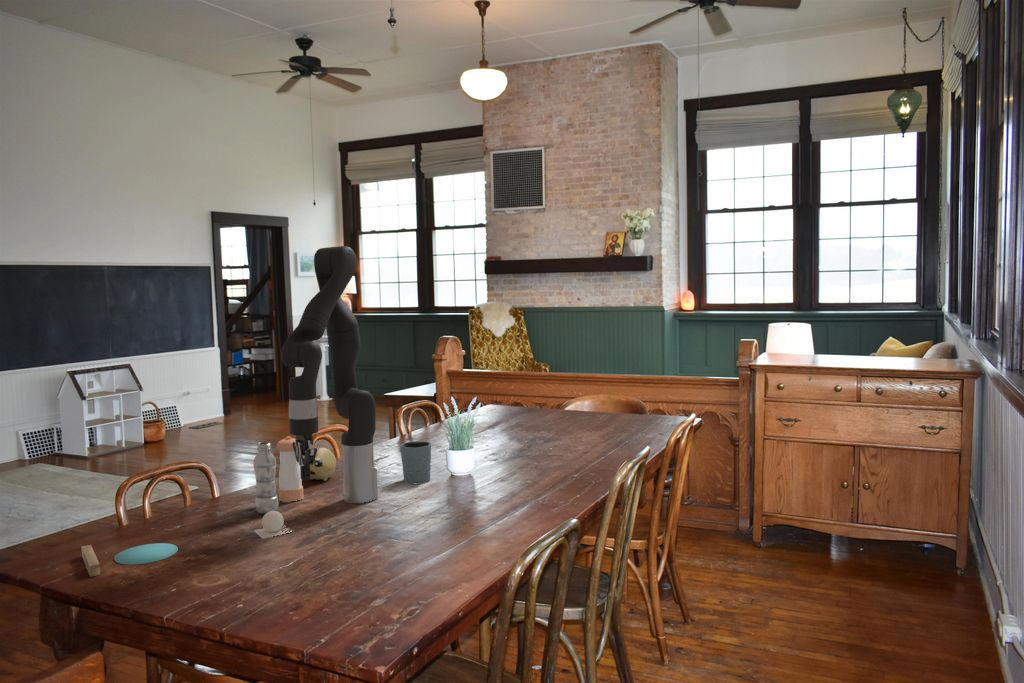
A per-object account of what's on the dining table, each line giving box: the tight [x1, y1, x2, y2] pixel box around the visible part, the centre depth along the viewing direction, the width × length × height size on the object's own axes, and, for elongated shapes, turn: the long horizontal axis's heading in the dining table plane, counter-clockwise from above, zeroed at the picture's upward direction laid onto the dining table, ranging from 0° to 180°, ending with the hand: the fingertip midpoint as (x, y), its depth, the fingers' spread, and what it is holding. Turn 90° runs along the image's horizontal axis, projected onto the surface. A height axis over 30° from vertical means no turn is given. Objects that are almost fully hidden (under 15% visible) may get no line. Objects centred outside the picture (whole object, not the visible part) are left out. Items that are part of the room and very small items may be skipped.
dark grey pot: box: [399, 440, 432, 484], centre depth 249 cm, size 10×10×12 cm
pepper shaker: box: [275, 435, 304, 503], centre depth 230 cm, size 7×7×19 cm
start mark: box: [253, 523, 293, 540], centre depth 201 cm, size 8×8×1 cm
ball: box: [261, 510, 285, 532], centre depth 201 cm, size 6×6×6 cm
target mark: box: [113, 542, 179, 566], centre depth 186 cm, size 14×14×1 cm
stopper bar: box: [81, 544, 101, 578], centre depth 179 cm, size 2×16×2 cm, turn 35°
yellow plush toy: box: [309, 447, 337, 482], centre depth 252 cm, size 10×12×11 cm
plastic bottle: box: [252, 441, 280, 514], centre depth 217 cm, size 6×7×20 cm
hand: (305, 479), depth 205 cm, fingers closed
